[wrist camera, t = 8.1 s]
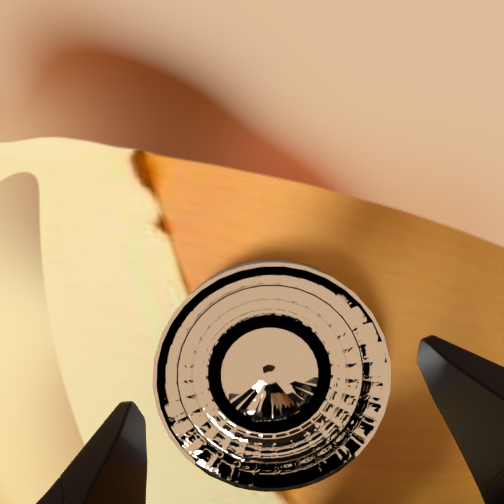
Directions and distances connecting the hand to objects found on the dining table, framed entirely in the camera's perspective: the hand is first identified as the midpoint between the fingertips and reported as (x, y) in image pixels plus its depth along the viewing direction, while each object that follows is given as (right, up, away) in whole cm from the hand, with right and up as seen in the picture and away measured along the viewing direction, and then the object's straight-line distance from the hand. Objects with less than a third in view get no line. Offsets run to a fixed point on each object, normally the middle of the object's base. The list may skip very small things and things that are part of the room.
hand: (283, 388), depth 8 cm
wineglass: (0, -3, +8) cm, 9 cm away
